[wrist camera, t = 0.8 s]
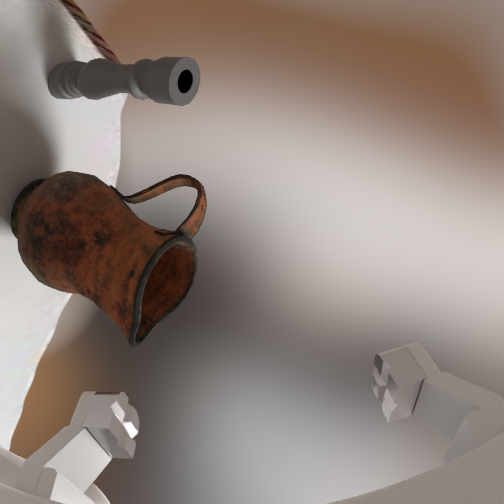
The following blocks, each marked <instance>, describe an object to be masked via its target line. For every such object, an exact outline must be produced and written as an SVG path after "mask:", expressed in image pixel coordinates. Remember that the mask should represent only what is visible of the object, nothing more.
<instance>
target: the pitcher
mask: <svg viewBox="0 0 504 504" xmlns="http://www.w3.org/2000/svg"><path fill="white" fill-rule="evenodd" d="M181 186H189V187H193V188H196V189H197V190H198V197H197V200H196V203H195V206H194V208H193V209H192V211H191V212H190V214H189V216H188V217H187V219H186V220H185V221H184V222H183V223H182V224H181V225H180V226H179V227H178V228H177V229H176V230H175V231H170V230H165V229H158V228H156V227H153V226H151V225H149V224H148V223H146V222H144V221H142V220H141V219H139V218H138V217H137V216H136V215H135V213H134V212H133V211H132V210H131V209H130V208H129V207H128V205H127V204H126V203H125V202H124V201H126V202H128V203H133V204H136V203H140V202H144V201H146V200H149V199H151V198H154V197H156V196H158V195H160V194H162V193H164V192H166V191H169V190H171V189H174V188H176V187H181ZM123 200H124V201H123ZM206 207H207V202H206V193H205V190H204V187H203V186H202V184H201V183H200V182H199V181H198V180H196V179H195V178H193V177H191V176H189V175H183V174H179V175H175V176H171V177H169V178H167V179H165V180H163V181H161V182H159V183H157V184H155V185H153V186H151V187H149V188H147V189H145V190H142V191H140V192H138V193H136V194H133V195H131V196H123V195H122V194H121V193H120V192H119V191H118V190H117V189H116V188H114V187H113V186H111V185H110V187H109V186H108V185H107V184H105V183H104V182H103V181H101V180H100V179H98V178H97V177H96V176H94V175H89V174H85V173H79V172H72V171H66V172H62V173H57V174H55V175H53V176H51V177H50V178H48V179H39V180H36V181H33V182H31V183H30V184H29V185H27V186H26V187H25V188H24V189H23V190H22V191H21V193H20V194H19V195H18V197H17V199H16V201H15V203H14V205H13V209H12V214H11V226H12V230H13V233H14V235H15V237H16V238H17V239H18V251H19V253H20V256H21V259H22V261H23V263H24V264H25V265H26V267H27V268H28V269H29V271H30V272H31V273H32V274H33V275H34V277H35V278H36V279H37V280H38V281H39V282H41V283H43V284H44V285H46V286H48V287H51V288H54V289H56V290H59V291H62V292H67V293H75V294H81V295H83V296H85V297H86V298H88V299H90V300H91V301H93V302H94V303H95V304H96V305H97V306H98V307H99V308H100V309H101V310H103V311H104V312H105V313H106V314H107V315H108V316H109V317H110V318H111V319H112V320H113V322H114V323H115V324H116V325H117V326H118V327H119V328H120V329H121V330H122V332H123V333H124V335H125V336H126V338H127V339H128V342H129V345H130V346H131V347H132V348H134V347H136V346H138V345H140V344H141V343H142V342H143V341H144V340H145V339H146V338H147V337H148V335H149V334H150V333H151V332H152V330H153V329H154V328H155V327H157V326H158V325H159V324H160V323H161V322H163V321H164V320H165V319H167V318H168V317H169V316H170V315H171V314H172V313H173V312H175V311H176V310H177V309H178V308H179V307H180V305H181V304H182V303H183V301H184V300H185V299H186V297H187V295H188V293H189V291H190V289H191V288H192V286H193V283H194V279H195V276H196V272H197V261H198V257H197V251H196V247H195V245H194V243H193V241H192V238H193V237H194V235H195V234H196V233H197V232H198V230H199V228H200V226H201V224H202V221H203V219H204V216H205V211H206Z"/></svg>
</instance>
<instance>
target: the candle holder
mask: <svg viewBox="0 0 504 504" xmlns="http://www.w3.org/2000/svg"><path fill="white" fill-rule="evenodd" d="M199 84H200V70H199V66H198V65H197V63H196V61H195V60H194V59H191V58H190V57H163V58H160V59H158V60H155V61H152V60H150V59H143V60H139V61H138V62H136V63H135V64H126V65H124V64H120V63H117V62H113V61H110V60H107V59H102V58H98V59H94V60H91V61H89V62H88V63H85V62H80V61H70V62H64V63H61V64H59V65H57V66H56V67H55V68H54V69H53V70H52V72H51V74H50V75H49V80H48V88H49V91H50V93H51V95H52V96H54V97H55V98H57V99H75V98H79V97H82V96H85V97H86V98H88V99H93V100H98V99H101V98H105V97H108V96H111V95H115V94H119V93H130V94H131V95H132V96H133V97H134V98H137V99H142V100H143V99H147V98H150V99H152V100H154V101H155V102H157V103H163V104H171V105H179V106H184V105H186V104H189V103H190V102H191V101H192V99H194V97H195V95H196V93H197V91H198V88H199Z"/></svg>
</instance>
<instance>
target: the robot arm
mask: <svg viewBox="0 0 504 504" xmlns="http://www.w3.org/2000/svg"><path fill="white" fill-rule="evenodd" d="M374 364H375V366H376V369H375V370H374V371H373V372H372V386H373V390H374V393H375V395H376V397H377V399H379V400H381V401H383V404H382V410H383V413H384V415H385V417H386V419H387V421H388V423H390V422H394V421H397V420H400V419H403V418H406V417H409V416H412V418H414V419H415V420H417V421H418V422H420V423H421V424H423V425H424V426H426V427H427V428H429V429H430V430H432V431H433V432H435V433H436V434H438V435H439V436H441V437H442V438H444V439H445V440H447V441H448V442H450V444H449V446H448V448H447V449H446V451H445V453H444V454H443V456H442V459H443V461H444V463H445V464H443V465H440V466H438V467H436V468H434V469H432V470H429V471H427V472H425V473H422V474H420V475H417V476H415V477H412V478H410V479H407V480H405V481H402V482H399V483H397V484H394V485H391V486H388V487H385V488H382V489H379V490H376V491H373V492H370V493H366V494H363V495H359V496H356V497H352V498H349V499H345V500H341V501H337V502H333V503H329V504H504V400H503V399H502V397H501V396H500V395H497V394H495V393H493V392H490V391H488V390H486V389H483V388H481V387H479V386H476V385H474V384H472V383H469V382H467V381H465V380H462V379H460V378H458V377H455V376H453V375H451V374H449V373H446V372H444V373H441V372H440V370H439V369H438V368H437V366H436V365H435V363H434V362H433V361H432V359H431V358H430V356H429V355H428V354H427V353H426V351H425V350H424V348H423V347H422V346H421V344H420V343H418V342H415V343H412V344H409V345H406V346H402V347H399V348H395V349H392V350H389V351H385V352H382V353H378V354H376V355H375V358H374ZM138 429H139V418H138V415H137V412H136V410H135V408H134V407H132V406H131V405H129V404H128V397H127V396H126V394H125V393H124V392H84V393H83V394H82V395H81V397H80V400H79V402H78V405H77V407H76V410H75V412H74V415H73V418H72V420H71V423H70V426H66V427H64V428H63V429H62V430H61V431H60V432H59V433H57V434H56V435H55V436H54V437H53V438H51V439H50V440H49V441H48V442H47V443H46V444H44V445H43V446H42V447H41V448H40V449H38V451H36V452H35V453H34V454H33V455H31V456H30V457H29V458H28V459H27V460H26V459H24V458H21V457H19V456H17V455H15V454H13V453H11V452H9V451H8V450H6V449H4V448H3V447H1V446H0V504H110V502H109V501H108V499H107V498H106V497H105V495H104V494H103V493H102V492H101V491H100V490H99V488H98V487H97V486H96V485H94V484H93V483H92V482H93V481H94V480H95V479H96V477H97V476H98V475H99V474H100V472H101V471H102V470H103V469H104V467H105V466H106V465H107V464H108V463H109V461H110V460H111V458H133V456H134V450H135V445H136V442H135V441H134V439H133V437H134V436H135V435H136V434H137V433H138Z"/></svg>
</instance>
